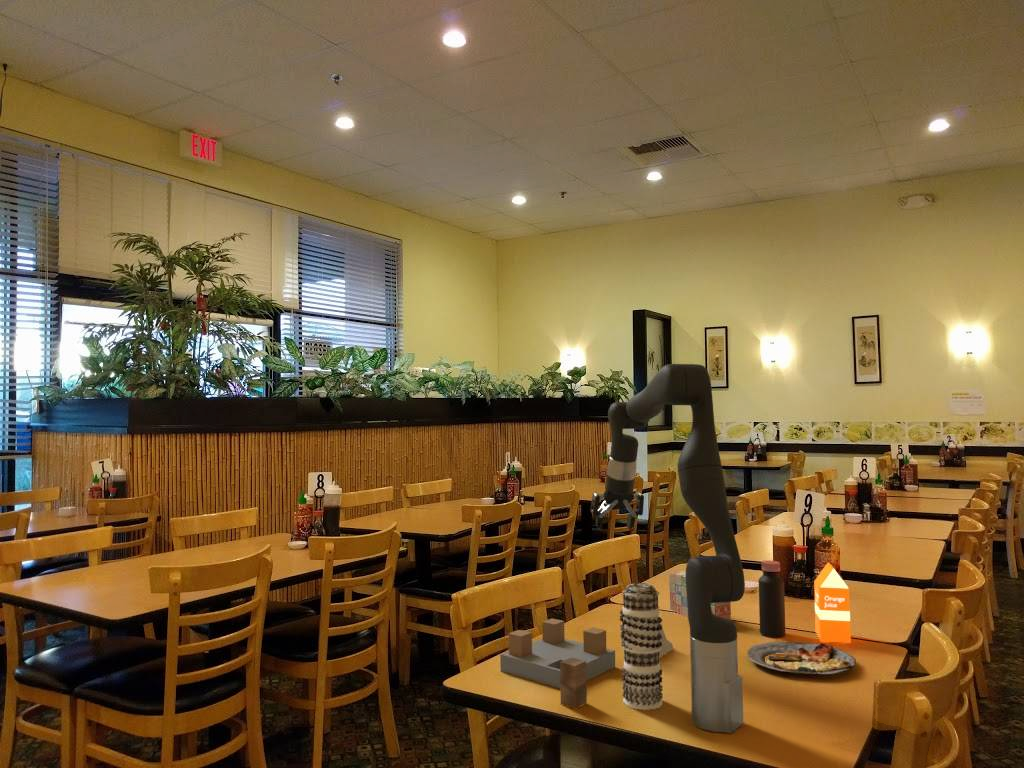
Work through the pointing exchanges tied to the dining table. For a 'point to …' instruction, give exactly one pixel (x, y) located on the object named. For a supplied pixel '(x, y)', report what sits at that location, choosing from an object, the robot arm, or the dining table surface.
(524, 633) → the stool seat
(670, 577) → the printed cardboard box
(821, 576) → the orange juice
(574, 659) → the stool leg
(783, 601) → the bottle
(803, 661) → the food plate
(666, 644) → the hinge
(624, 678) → the decorative candle
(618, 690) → the dining table surface
